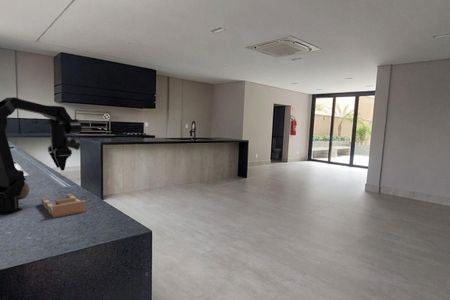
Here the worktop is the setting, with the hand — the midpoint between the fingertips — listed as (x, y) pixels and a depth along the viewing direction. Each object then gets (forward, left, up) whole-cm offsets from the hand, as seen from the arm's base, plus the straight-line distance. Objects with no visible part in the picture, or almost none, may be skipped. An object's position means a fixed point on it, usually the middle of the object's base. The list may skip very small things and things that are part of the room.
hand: (60, 168), depth 124 cm
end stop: (-20, -19, -13) cm, 31 cm away
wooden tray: (-13, -11, -13) cm, 22 cm away
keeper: (-17, -16, -13) cm, 27 cm away
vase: (-4, +17, -13) cm, 22 cm away
